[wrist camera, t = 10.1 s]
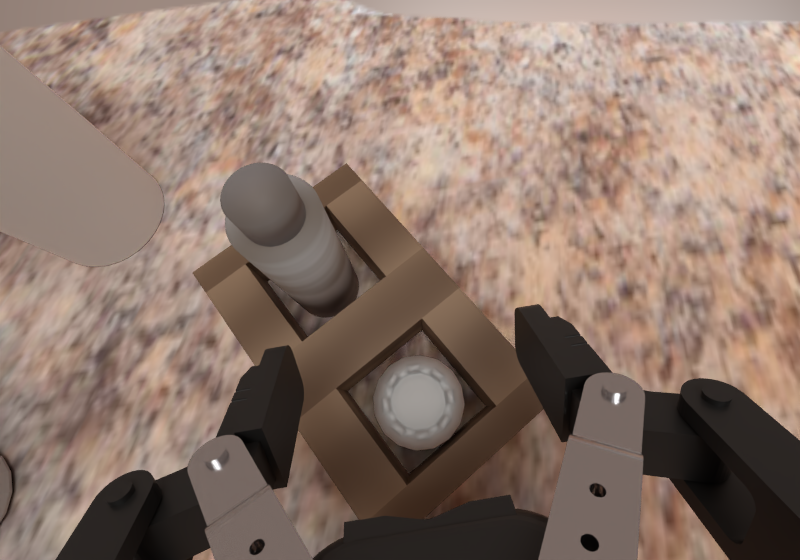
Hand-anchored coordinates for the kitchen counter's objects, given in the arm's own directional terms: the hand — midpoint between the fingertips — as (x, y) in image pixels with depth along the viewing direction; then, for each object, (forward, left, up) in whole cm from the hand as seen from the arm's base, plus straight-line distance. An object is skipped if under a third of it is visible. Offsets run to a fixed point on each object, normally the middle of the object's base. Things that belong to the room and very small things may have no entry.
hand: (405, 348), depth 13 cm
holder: (+1, -3, -9) cm, 9 cm away
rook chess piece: (+1, +2, -9) cm, 9 cm away
